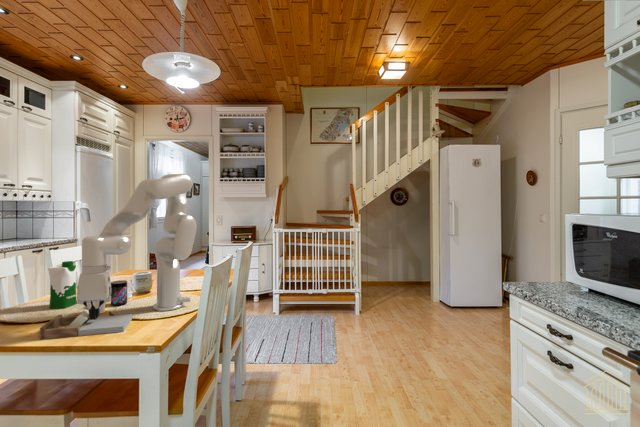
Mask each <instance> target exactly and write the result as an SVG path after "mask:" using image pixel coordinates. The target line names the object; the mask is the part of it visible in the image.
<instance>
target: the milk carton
mask: <svg viewBox="0 0 640 427" xmlns="http://www.w3.org/2000/svg"><path fill="white" fill-rule="evenodd" d="M78 266H79V265H78V264H74V261H73V260H69V261H67V260H66V261H62V262H61V264H60V265H55V266H51V267H47V271H48V274H49V278H50V279H49V283H50V284H49V288H50V294H49V296H50V297H49V306H48V307H49V309H67V308H69V307H72V306H74V305H78V304H77V271H78Z"/></svg>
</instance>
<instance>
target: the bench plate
mask: <svg viewBox="0 0 640 427" xmlns="http://www.w3.org/2000/svg"><path fill="white" fill-rule="evenodd" d="M132 320H133V314H132V313H130V314H129V313H128V314H117V315H116V314H115V315H105V316H98V318H97V319H96V320H94V319H93V320H88V321H87V322H86V323H85V324H82V325H81V326H80V327H79V330H78V336H77V337H81V336H94V335H102V334H103V335H105V334H113V333H124V332H125V330H126V329H127V327H128V326H129V324H130V323H131V322H132Z"/></svg>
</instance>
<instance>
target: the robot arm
mask: <svg viewBox="0 0 640 427" xmlns="http://www.w3.org/2000/svg"><path fill="white" fill-rule="evenodd" d="M192 188H193V180H192V178H191V176H189V175H188V174H185V173H174V174H173V173H172V174H165V175H163V176H161V177H160V178H147V179H143V180H142V181H140V182H139V183H138V185H137V186H136V188H135V189H134V191H133V193H132V194H131V196H130V197H129V199H128V201H127V202H126V204H125V205H124V206H123V208H122V209H121V210H120V211H119V212H117V213H116V214H115V216H113V217H112V218H111V219H110V220H109V221H108V222H107V223H106V224H105V226H104V227H103V229H102V231H101V232H100V234H99V236H98V235H94V236H93V235H92V236H85V237H83V238H82V239H81V273H80V274H79V277H78V282H77V286H76V299H77V304H76V305H83V306H84V307H85V308H87V310H88V309H89V311H88V312H89V317H90V320H93V319H94V320H96V319H97V318H98V317H100V306H101V305H102V304H103V303H105V304H106V303H111V282H112V281H111V276H110V272H109V270H111V268H112V267H111V266H110V265H108V264H107V256H108V255H124V254H125V253H127V252H129V250H130V249H131V246H132V242H131V240H130V238H129V237H128V236H125V235H123V234H124V232H125V231H126V230H128V228H129V227H131V226H133V225H135V224H137V223H138V222H141V221H142V220H144V219H145V218H146V217H147V215H148V214H149V211H150V210H151V207H152V206H153V204H154V202H156V200H165V199H167V200H166V201H167V206H166V211H165V215H164V219H163V225H162V228H163V231H164V232H165V233H167V234H168V235H173V236H174V237H171V236H166V237H161V238H159V239H158V240H157V241H156V242H155V245H154V255H155V260H156V303H155V304H153V306H152V309H153V310H154V311H160V312H165V311H166V312H167V311H168V312H169V311H173V310H178V309H181V308H182V307H184V303H190V302H191V297H188V296H185V297H183V296H182V294H181V277H180V276H181V265H180V262H179V261H184V260H186V259H188V258H189V257H190V255H191V253H192V252H193V246H194V243H195V238H196V234H197V228H198V227H197V221H196V218H194V216H192V215H191V214H188V212H187V210H188V204H189V203H188V199H187V196H186V194H187V193H188V192H190V191H191V190H192ZM93 301H96V304H95V307H94V305H93Z"/></svg>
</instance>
